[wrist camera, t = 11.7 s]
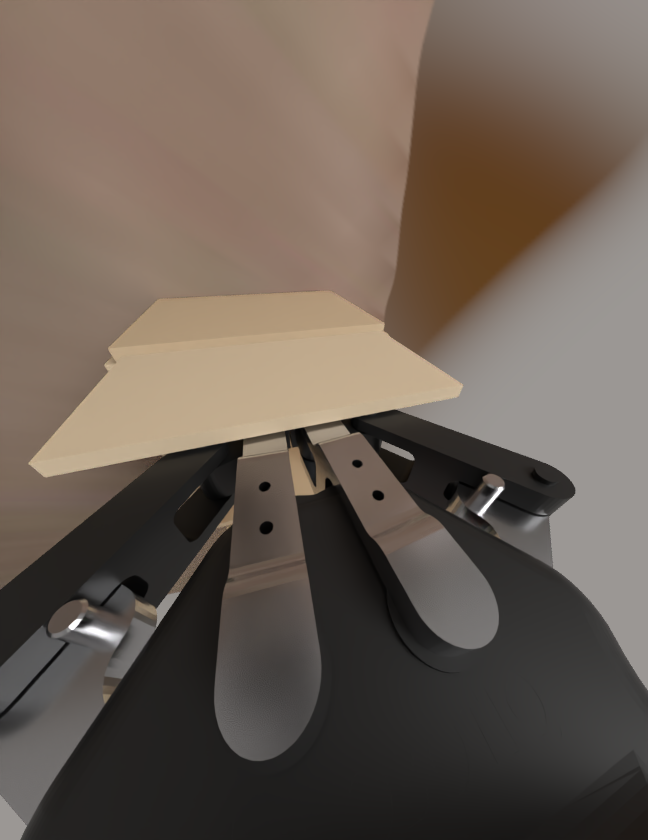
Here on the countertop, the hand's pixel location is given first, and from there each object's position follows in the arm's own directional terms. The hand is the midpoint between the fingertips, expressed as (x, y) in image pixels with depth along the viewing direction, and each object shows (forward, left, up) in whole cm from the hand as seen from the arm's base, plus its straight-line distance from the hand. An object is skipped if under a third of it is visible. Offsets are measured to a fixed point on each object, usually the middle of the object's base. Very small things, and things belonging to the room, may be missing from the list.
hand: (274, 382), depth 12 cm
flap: (-2, 0, -2) cm, 2 cm away
